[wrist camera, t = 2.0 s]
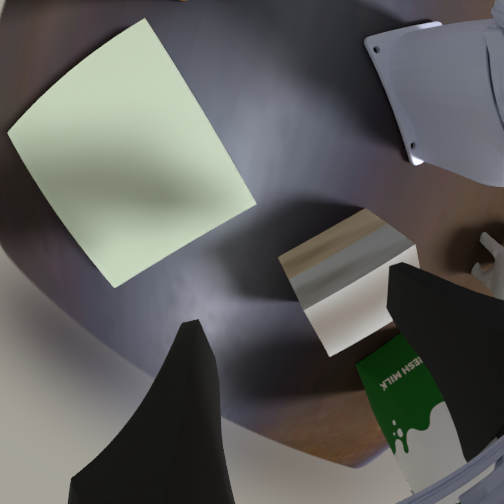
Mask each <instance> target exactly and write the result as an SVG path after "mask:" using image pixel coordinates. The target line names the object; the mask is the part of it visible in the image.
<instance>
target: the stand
mask: <svg viewBox="0 0 504 504" xmlns="http://www.w3.org/2000/svg"><path fill="white" fill-rule="evenodd" d="M8 135H9V137H10V139H11V141H12V143H13V144H14V146H15V148H16V150H17V152H18V153H19V155H20V157H21V159H22V160H23V162H24V164H25V165H26V167H27V169H28V171H29V172H30V174H31V175H32V177H33V179H34V180H35V182H36V183H37V185H38V187H39V188H40V190H41V191H42V193H43V194H44V196H45V197H46V199H47V200H48V202H49V203H50V205H51V206H52V208H53V209H54V211H55V212H56V214H57V215H58V216H59V218H60V219H61V221H62V222H63V224H64V225H65V226H66V228H67V229H68V230H69V232H70V233H71V234H72V236H73V237H74V239H75V240H76V241H77V242H78V244H79V245H80V246H81V248H82V249H83V250H84V252H85V253H86V254H87V255H88V257H89V258H90V259H91V260H92V262H93V263H94V264H95V265H96V267H97V268H98V269H99V270H100V272H101V273H102V274H103V275H104V276H105V278H106V279H107V280H108V281H109V282H110V284H111V285H112V286H113V287H114V288H116V287H117V286H119V285H121V284H122V283H124V282H125V281H127V280H129V279H130V278H132V277H133V276H135V275H137V274H138V273H140V272H142V271H143V270H145V269H146V268H148V267H150V266H151V265H153V264H155V263H156V262H158V261H160V260H161V259H163V258H164V257H166V256H168V255H169V254H171V253H173V252H174V251H176V250H178V249H179V248H181V247H183V246H185V245H186V244H188V243H190V242H191V241H193V240H195V239H196V238H198V237H200V236H202V235H203V234H205V233H207V232H208V231H210V230H212V229H214V228H215V227H217V226H219V225H221V224H222V223H224V222H226V221H227V220H229V219H231V218H233V217H235V216H236V215H238V214H240V213H242V212H243V211H245V210H247V209H249V208H250V207H252V206H254V205H256V202H255V200H254V198H253V197H252V195H251V193H250V191H249V190H248V188H247V186H246V184H245V183H244V181H243V179H242V177H241V176H240V174H239V172H238V170H237V169H236V167H235V165H234V163H233V162H232V160H231V158H230V157H229V155H228V153H227V151H226V150H225V148H224V146H223V145H222V143H221V141H220V139H219V138H218V136H217V134H216V133H215V131H214V129H213V128H212V126H211V124H210V122H209V121H208V119H207V117H206V116H205V114H204V112H203V111H202V109H201V107H200V106H199V104H198V102H197V101H196V99H195V97H194V96H193V94H192V93H191V91H190V89H189V88H188V86H187V84H186V83H185V81H184V79H183V78H182V76H181V75H180V73H179V71H178V70H177V68H176V66H175V65H174V63H173V62H172V60H171V58H170V57H169V55H168V54H167V52H166V50H165V49H164V47H163V46H162V44H161V42H160V41H159V39H158V38H157V36H156V35H155V33H154V31H153V30H152V28H151V27H150V25H149V24H148V22H147V20H146V19H143V20H141V21H139V22H138V23H136V24H134V25H133V26H131V27H130V28H128V29H126V30H125V31H123V32H122V33H120V34H119V35H117V36H116V37H114V38H113V39H111V40H110V41H108V42H107V43H105V44H104V45H103V46H101V47H100V48H99V49H97V50H96V51H94V52H93V53H92V54H90V55H89V56H88V57H86V58H85V59H84V60H83V61H81V62H80V63H79V64H78V65H76V66H75V67H74V68H73V69H71V70H70V71H69V72H68V73H67V74H66V75H64V76H63V77H62V78H61V79H60V80H59V81H58V82H56V83H55V84H54V85H53V86H52V87H51V88H50V89H49V90H48V91H47V92H46V93H45V94H43V95H42V96H41V97H40V98H39V99H38V100H37V101H36V102H35V103H34V104H33V105H32V106H31V107H30V108H29V109H28V110H27V111H26V113H25V114H24V115H23V116H22V117H21V118H20V119H19V120H18V121H17V122H16V123H15V125H14V126H13V127H12V128H11V129H10V130H9V131H8Z"/></svg>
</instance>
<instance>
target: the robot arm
mask: <svg viewBox="0 0 504 504" xmlns="http://www.w3.org/2000/svg"><path fill="white" fill-rule="evenodd" d="M491 13H492V16H493V18H494V19H484V20H475V21H466V22H459V23H453V24H447V25H442V24H441V23H440V22H438V21H436V22H430V23H425V24H419V25H414V26H409V27H405V28H400V29H396V30H392V31H388V32H384V33H380V34H376V35H373V36H369V37H367V38H365V40H364V44H365V47H366V49H367V51H368V53H369V55H370V57H371V59H372V61H373V63H374V66H375V68H376V70H377V72H378V75H379V77H380V79H381V82H382V84H383V86H384V89H385V91H386V94H387V96H388V99H389V101H390V104H391V107H392V109H393V112H394V115H395V118H396V120H397V123H398V126H399V129H400V132H401V135H402V138H403V141H404V145H405V148H406V151H407V154H408V158H409V161H410V163H411V164H413V165H419V164H421V163H423V162H427V163H430V164H432V165H435V166H438V167H441V168H443V169H446V170H449V171H451V172H454V173H456V174H459V175H461V176H464V177H466V178H469V179H471V180H474V181H476V182H479V183H482V184H485V185H490V186H498V187H504V0H495V4H494V7H493V8H492V11H491ZM374 47H375V48H376V49H377V53H375V52H374V50H373V48H374ZM411 143H413V146H412V148H411ZM386 308H387V310H388V312H389V314H390V316H391V317H392V319H393V321H394V323H395V324H396V326H397V328H398V329H399V331H400V332H401V333H402V335H403V336H404V337H405V339H406V340H407V341H408V343H409V344H410V345H411V347H412V348H413V349H414V351H415V352H416V354H417V355H418V356H419V358H420V359H421V360H422V362H423V363H424V365H425V366H426V367H427V369H428V370H429V372H430V374H431V375H432V377H433V379H434V381H435V383H436V385H437V387H438V388H439V390H440V392H441V394H442V397H443V399H444V401H445V403H446V405H447V408H448V410H449V412H450V415H451V418H452V420H453V423H454V426H455V428H456V431H457V435H458V438H459V441H460V445H461V448H462V453H463V456H464V458H465V460H466V462H467V463H466V464H465V465H463V466H462V467H460V468H459V469H457V470H456V471H454V472H452V473H451V474H449V475H448V476H446V477H444V478H443V479H441V480H439V481H438V482H436V483H434V484H432V485H431V486H429V487H427V488H425V489H423V490H422V491H420V492H418V493H416V494H414V495H412V496H410V497H408V498H406V499H404V500H402V501H400V502H398V503H396V504H435V503H436V502H438V501H440V500H441V499H443V498H445V497H446V496H448V495H450V494H451V493H453V492H454V491H456V490H457V489H459V488H460V487H462V486H463V485H465V484H466V483H468V482H469V481H471V480H472V479H473V478H475V477H476V476H478V475H479V474H480V473H482V472H483V471H484V470H486V469H487V468H488V467H490V466H491V465H492V464H493V463H495V462H496V463H495V467H494V470H493V471H492V472H491V473H490V474H489V475H487V476H486V477H485V478H483V479H482V480H481V481H479V482H478V483H477V484H475V485H474V486H472V487H471V488H469V489H468V490H467V491H465V492H464V493H462V494H461V495H459V497H458V499H459V501H460V503H461V504H504V300H501V299H497V298H494V297H490V296H487V295H484V294H481V293H478V292H475V291H472V290H469V289H467V288H464V287H462V286H459V285H457V284H454V283H452V282H449V281H447V280H445V279H442V278H440V277H438V276H436V275H433V274H431V273H429V272H426V271H424V270H422V269H419V268H417V267H415V266H412V265H410V264H407V263H404V262H400V263H397V264H394V265H391V266H389V277H388V292H387V304H386ZM68 504H235V501H234V497H233V493H232V489H231V485H230V480H229V475H228V471H227V466H226V461H225V455H224V449H223V443H222V434H221V413H220V391H219V378H218V372H217V366H216V360H215V356H214V354H213V352H212V349H211V347H210V345H209V342H208V340H207V338H206V336H205V333H204V331H203V328H202V326H201V324H200V321H199V319H197V320H193V321H189V322H184V323H182V324H181V326H180V328H179V330H178V333H177V335H176V337H175V339H174V342H173V344H172V346H171V348H170V351H169V353H168V355H167V357H166V359H165V361H164V363H163V365H162V367H161V369H160V371H159V373H158V375H157V377H156V379H155V380H154V382H153V384H152V386H151V388H150V389H149V391H148V393H147V395H146V396H145V398H144V399H143V401H142V403H141V404H140V406H139V407H138V409H137V410H136V411H135V413H134V414H133V416H132V417H131V418H130V420H129V421H128V422H127V424H126V425H125V426H124V427H123V429H122V430H121V431H120V432H119V434H118V435H117V436H116V437H115V438H114V439H113V441H112V442H111V443H110V444H109V445H108V446H107V447H106V448H105V449H104V450H103V451H102V452H101V453H100V454H99V455H98V456H97V457H96V458H95V459H94V460H93V461H92V462H90V463H89V464H88V465H87V466H86V467H85V468H83V469H82V470H81V471H80V472H79V473H77V474H76V475H75V476H74V477H72V478H71V483H70V490H69V498H68Z"/></svg>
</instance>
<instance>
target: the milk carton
mask: <svg viewBox="0 0 504 504" xmlns="http://www.w3.org/2000/svg"><path fill="white" fill-rule="evenodd" d="M355 365H356V367H357V370H358V372H359V375H360V378H361V380H362V383H363V386H364V388H365V391H366V394H367V396H368V399H369V402H370V405H371V408H372V410H373V413H374V415H375V417H376V419H377V421H378V424H379V426H380V428H381V430H382V432H383V434H384V436H385V438H386V440H387V442H388V444H389V446H390V448H391V450H392V452H393V454H394V456H395V458H396V460H397V462H398V464H399V467H400V469H401V471H402V473H403V475H404V476H405V478H406V480H407V482H408V484H409V486H410V487H411V489H412V490H411V493H412V494H413V495H414V494H416V493H418V492H420V491H422V490H423V489H425V488H427V487H429V486H431V485H432V484H434V483H436V482H438V481H439V480H441V479H443V478H444V477H446V476H448V475H449V474H451V473H452V472H454V471H456V470H457V469H459V468H460V467H462V466H463V465H465V464H466V463H467V462H466V460H465V458H464V456H463V453H462V448H461V445H460V441H459V438H458V435H457V431H456V428H455V426H454V423H453V420H452V418H451V415H450V412H449V410H448V408H447V405H446V403H445V401H444V399H443V397H442V394H441V392H440V390H439V388H438V387H437V385H436V383H435V381H434V379H433V377H432V375H431V374H430V372H429V370H428V369H427V367H426V366H425V365H424V363H423V362H422V360H421V359H420V358H419V356H418V355H417V354H416V352H415V351H414V349H413V348H412V347H411V345H410V344H409V343H408V341H407V340H406V339H405V337H404V336H403V335H402V333H400V334H399V335H397V336H396V337H395V338H393V339H392V340H390V341H389V342H388V343H386V344H385V345H383V346H382V347H381V348H379V349H378V350H376V351H375V352H373V353H372V354H370V355H369V356H367V357H366V358H364V359H363V360H361V361H360V362H358V363H357V364H355ZM495 463H496V462H495ZM495 463H493V464H492V465H491V466H490V467H488V468H487V469H486V470H484V471H483V472H482V473H480V474H479V475H478V476H476V477H475V478H473V479H472V480H471V481H469V482H468V483H466V484H465V485H463V486H462V487H460V488H459V489H457V490H456V491H454V492H453V493H451V494H450V495H448V496H446V497H445V498H443V499H441V500H440V501H438V502H436V503H435V504H461V503H460V501H459V499H458V497H459V495H461V494H462V493H464V492H465V491H467V490H468V489H469V488H471V487H472V486H474V485H475V484H477V483H478V482H479V481H481V480H482V479H483V478H485V477H486V476H487V475H489V474H490V473H491V472H492V471H493V470H494V467H495Z"/></svg>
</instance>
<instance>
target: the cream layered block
mask: <svg viewBox="0 0 504 504" xmlns="http://www.w3.org/2000/svg"><path fill="white" fill-rule="evenodd" d="M278 259H279V261H280V263H281V265H282V267H283V269H284V271H285V273H286V275H287V277H288V279H289V281H290V283H291V285H292V287H293V289H294V292H295V294H296V296H297V298H298V300H299V302H300V304H301V306H302V308H303V310H304V312H305V314H306V315H307V317H308V319H309V321H310V323H311V324H312V326H313V328H314V330H315V331H316V333H317V335H318V337H319V339H320V340H321V342H322V344H323V346H324V348H325V349H326V351H327V353H328V355H329V357H331V356H333V355H335V354H336V353H338V352H340V351H342V350H344V349H346V348H347V347H349V346H351V345H353V344H354V343H356V342H358V341H360V340H361V339H363V338H365V337H367V336H368V335H370V334H372V333H373V332H375V331H377V330H378V329H380V328H382V327H383V326H385V325H386V324H388V323H390V322H391V321H393V319H392V317H391V316H390V314H389V312H388V310H387V308H386V304H387V292H388V277H389V266H391V265H394V264H397V263H400V262H404V263H407V264H410V265H412V266H415V267H417V268H419V269H420V267H419V261H418V255H417V250H416V245H415V243H413V242H412V241H411V240H409V239H408V238H407V237H405V236H404V235H403V234H401V233H400V232H398V231H397V230H396V229H394V228H393V227H392V226H390V225H389V224H387V223H386V222H385V221H383V220H382V219H380V218H379V217H377V216H376V215H375V214H373V213H372V212H370V211H369V210H367V209H366V208H365V209H363V210H361V211H359V212H358V213H356V214H354V215H352V216H351V217H349V218H347V219H345V220H343V221H342V222H340V223H338V224H336V225H335V226H333V227H331V228H329V229H327V230H326V231H324V232H322V233H320V234H318V235H317V236H315V237H313V238H311V239H310V240H308V241H306V242H304V243H302V244H301V245H299V246H297V247H295V248H293V249H291V250H290V251H288V252H286V253H284V254H282V255H281V256H279V257H278Z"/></svg>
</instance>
